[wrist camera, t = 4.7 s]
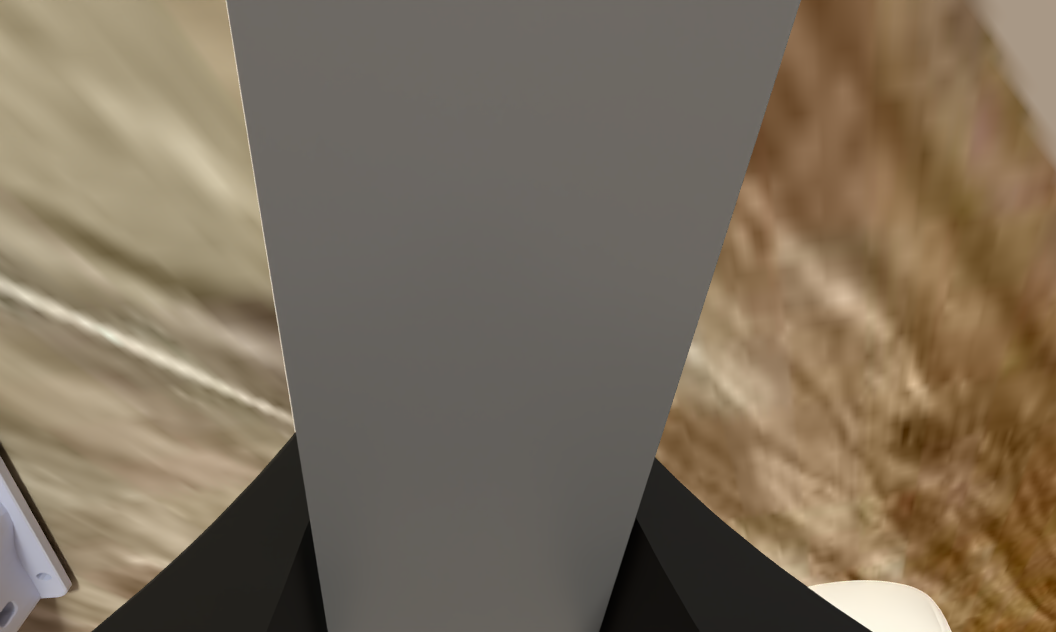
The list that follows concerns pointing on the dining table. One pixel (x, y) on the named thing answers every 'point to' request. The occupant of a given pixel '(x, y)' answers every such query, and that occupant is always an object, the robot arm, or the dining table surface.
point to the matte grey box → (491, 278)
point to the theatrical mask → (885, 605)
